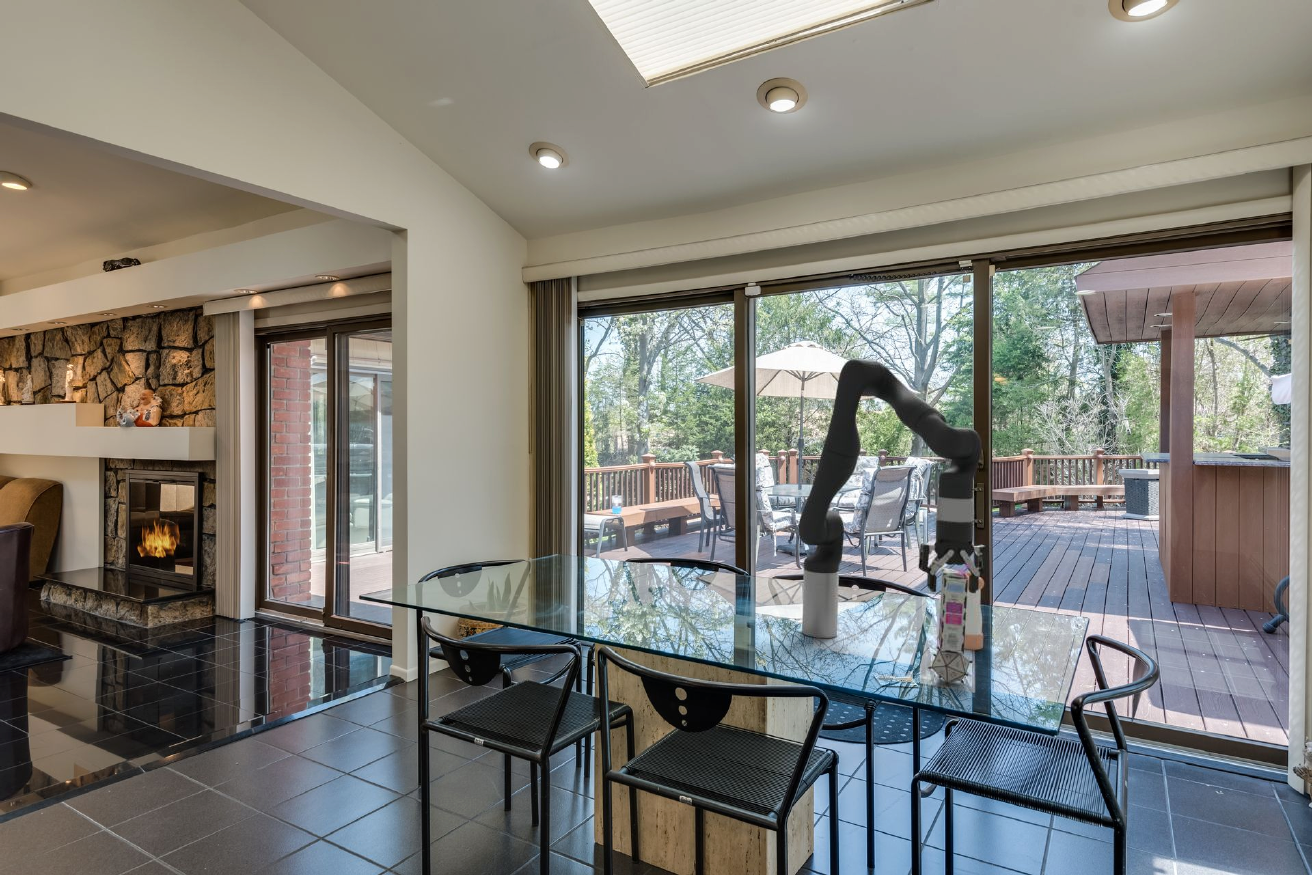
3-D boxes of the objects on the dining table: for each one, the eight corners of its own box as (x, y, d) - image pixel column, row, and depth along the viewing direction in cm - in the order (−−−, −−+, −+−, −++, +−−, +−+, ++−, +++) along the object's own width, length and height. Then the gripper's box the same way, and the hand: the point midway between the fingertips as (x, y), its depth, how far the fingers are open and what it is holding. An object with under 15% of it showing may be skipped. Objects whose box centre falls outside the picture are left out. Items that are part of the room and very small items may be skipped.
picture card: (873, 676, 162) (873, 674, 162) (910, 677, 161) (910, 676, 161) (881, 686, 156) (881, 684, 156) (918, 687, 155) (918, 685, 155)
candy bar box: (965, 655, 153) (968, 578, 152) (940, 652, 154) (943, 575, 154) (961, 641, 163) (964, 569, 163) (938, 638, 165) (940, 566, 165)
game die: (942, 700, 158) (914, 663, 159) (950, 676, 165) (924, 640, 165) (978, 690, 153) (950, 651, 153) (985, 666, 159) (958, 629, 159)
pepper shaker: (965, 650, 183) (967, 575, 183) (946, 642, 190) (948, 569, 190) (989, 648, 185) (991, 574, 184) (969, 640, 192) (971, 568, 192)
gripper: (980, 517, 162) (978, 589, 162) (916, 515, 162) (914, 587, 163) (995, 521, 154) (992, 597, 155) (927, 519, 155) (925, 594, 155)
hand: (952, 591), depth 159 cm, fingers open, 8 cm apart
